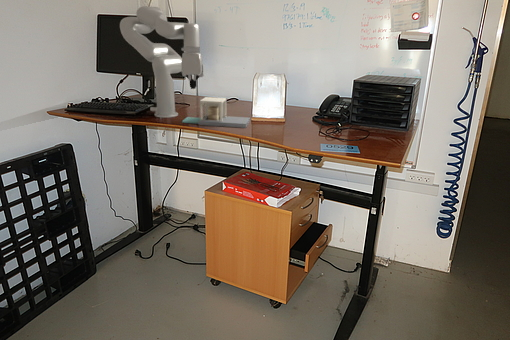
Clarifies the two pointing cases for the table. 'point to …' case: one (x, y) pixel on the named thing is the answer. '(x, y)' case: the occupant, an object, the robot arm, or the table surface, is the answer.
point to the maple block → (213, 113)
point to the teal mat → (191, 120)
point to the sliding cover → (213, 102)
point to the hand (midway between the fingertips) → (193, 88)
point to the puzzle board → (226, 122)
